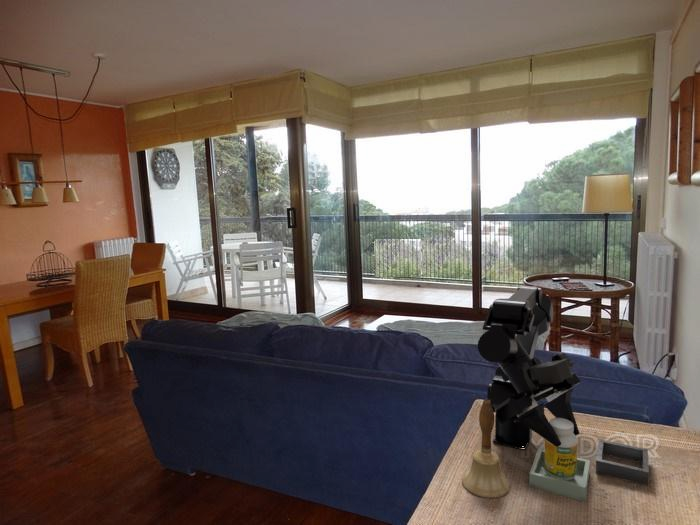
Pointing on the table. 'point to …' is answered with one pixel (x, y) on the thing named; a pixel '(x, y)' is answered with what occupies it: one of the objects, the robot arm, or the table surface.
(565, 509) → the table surface
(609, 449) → the collar
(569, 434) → the supplement bottle
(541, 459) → the tray
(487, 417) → the hand bell
